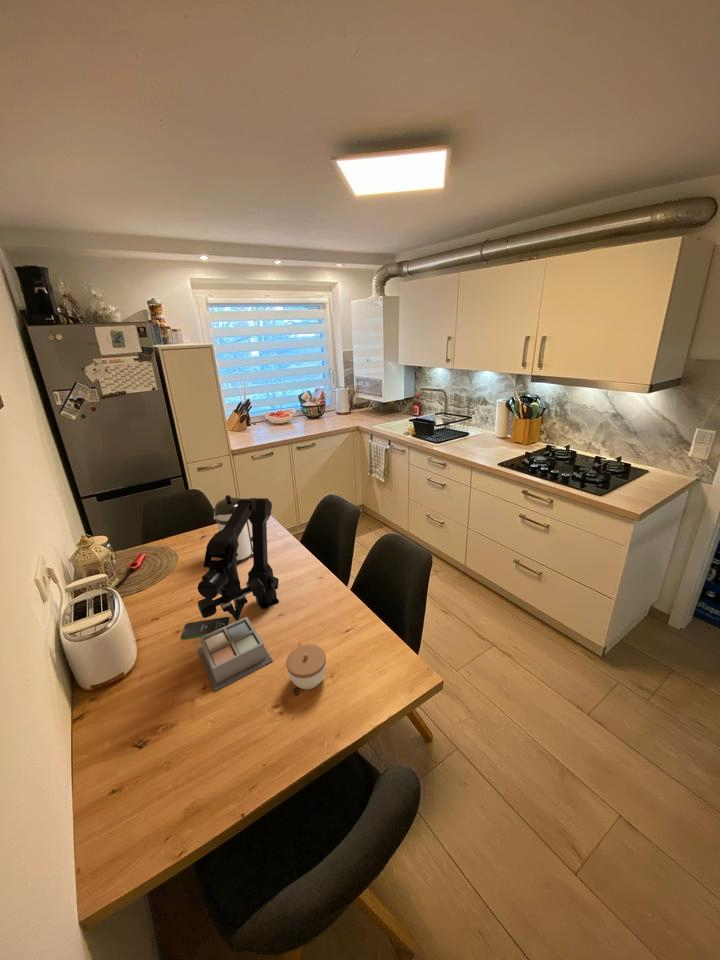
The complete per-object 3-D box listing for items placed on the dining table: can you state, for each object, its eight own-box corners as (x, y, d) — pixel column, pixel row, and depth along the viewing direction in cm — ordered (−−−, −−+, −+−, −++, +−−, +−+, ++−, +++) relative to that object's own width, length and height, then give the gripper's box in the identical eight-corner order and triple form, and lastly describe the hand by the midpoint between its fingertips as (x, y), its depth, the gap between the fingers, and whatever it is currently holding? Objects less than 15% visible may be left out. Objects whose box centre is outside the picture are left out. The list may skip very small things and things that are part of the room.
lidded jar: (296, 703, 100) (292, 676, 97) (284, 674, 109) (280, 648, 106) (334, 686, 104) (331, 659, 101) (319, 659, 113) (316, 634, 110)
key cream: (225, 640, 120) (223, 631, 119) (230, 650, 116) (228, 642, 115) (206, 648, 117) (204, 640, 116) (211, 659, 113) (209, 651, 112)
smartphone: (185, 622, 131) (230, 615, 133) (185, 625, 131) (231, 617, 133) (179, 638, 124) (227, 630, 126) (180, 641, 124) (228, 633, 126)
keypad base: (250, 625, 128) (247, 611, 126) (272, 661, 113) (270, 646, 111) (197, 649, 119) (194, 635, 117) (214, 691, 105) (210, 676, 103)
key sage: (254, 643, 119) (252, 634, 117) (261, 654, 114) (259, 645, 113) (236, 651, 116) (234, 643, 114) (242, 663, 111) (240, 654, 110)
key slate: (246, 630, 124) (245, 622, 123) (252, 640, 120) (251, 631, 118) (229, 638, 121) (227, 629, 120) (235, 648, 117) (233, 640, 116)
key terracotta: (231, 653, 115) (229, 645, 114) (237, 665, 111) (235, 656, 109) (212, 662, 112) (210, 654, 111) (218, 675, 108) (216, 666, 106)
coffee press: (253, 566, 163) (242, 501, 152) (216, 567, 163) (202, 503, 153) (264, 545, 179) (254, 485, 168) (230, 546, 179) (218, 487, 169)
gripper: (249, 554, 123) (256, 594, 129) (188, 576, 114) (199, 618, 119) (262, 569, 115) (269, 612, 120) (197, 594, 105) (208, 639, 111)
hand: (236, 619), depth 118 cm, fingers closed
